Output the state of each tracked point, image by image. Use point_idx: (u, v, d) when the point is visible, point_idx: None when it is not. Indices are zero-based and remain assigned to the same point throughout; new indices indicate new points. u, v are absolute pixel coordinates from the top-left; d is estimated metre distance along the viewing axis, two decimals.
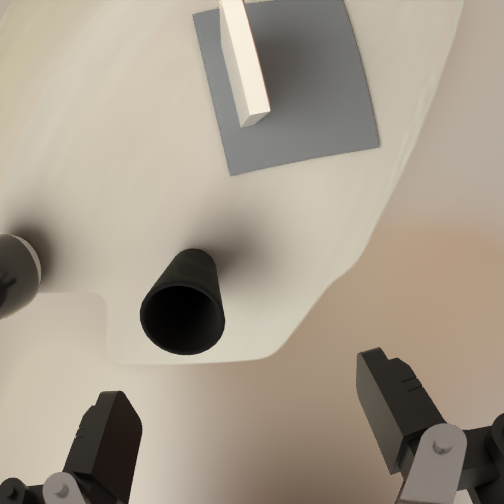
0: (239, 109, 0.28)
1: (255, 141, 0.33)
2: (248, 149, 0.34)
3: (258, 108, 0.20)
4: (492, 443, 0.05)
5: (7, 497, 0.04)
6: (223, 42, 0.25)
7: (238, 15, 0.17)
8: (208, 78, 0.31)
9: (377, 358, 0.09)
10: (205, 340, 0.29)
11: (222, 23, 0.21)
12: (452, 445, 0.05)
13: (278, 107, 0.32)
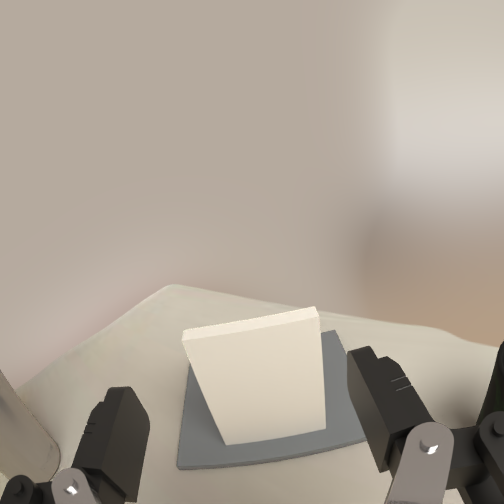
0: (307, 401, 0.25)
1: (340, 415, 0.28)
2: (350, 420, 0.27)
3: (312, 312, 0.23)
4: (481, 443, 0.05)
5: (14, 494, 0.05)
6: (228, 413, 0.25)
7: (215, 328, 0.23)
8: (263, 457, 0.25)
9: (366, 356, 0.09)
10: None
11: (211, 379, 0.24)
12: (439, 444, 0.05)
13: None
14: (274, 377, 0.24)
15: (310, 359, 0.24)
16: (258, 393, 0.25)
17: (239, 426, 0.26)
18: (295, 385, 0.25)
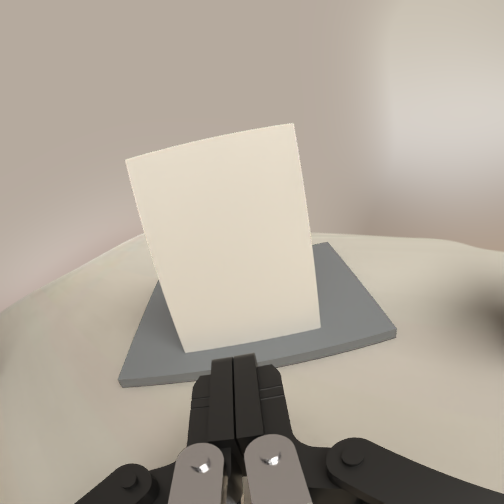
0: (291, 269, 0.20)
1: (339, 313, 0.23)
2: (353, 317, 0.22)
3: None
4: (336, 479, 0.05)
5: (122, 486, 0.05)
6: (183, 288, 0.20)
7: None
8: None
9: (246, 362, 0.10)
10: None
11: (160, 222, 0.19)
12: (276, 457, 0.06)
13: None
14: (242, 219, 0.19)
15: (288, 190, 0.19)
16: (222, 249, 0.20)
17: (200, 314, 0.21)
18: (272, 236, 0.20)
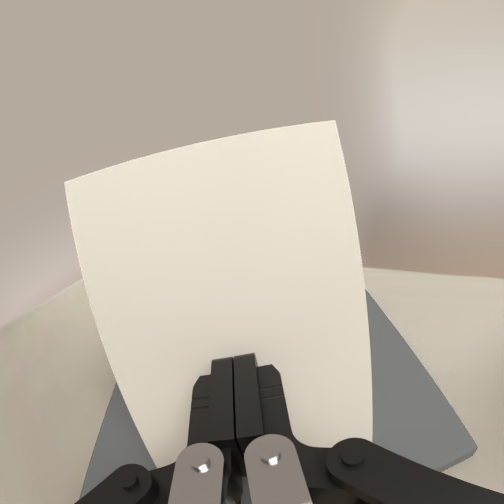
0: (334, 370, 0.11)
1: (397, 423, 0.13)
2: (417, 431, 0.12)
3: None
4: (336, 479, 0.05)
5: (122, 487, 0.05)
6: (154, 395, 0.11)
7: None
8: None
9: (246, 362, 0.10)
10: None
11: (113, 287, 0.11)
12: (276, 457, 0.06)
13: None
14: (251, 287, 0.11)
15: (331, 236, 0.11)
16: (216, 338, 0.11)
17: (183, 435, 0.12)
18: (303, 317, 0.11)
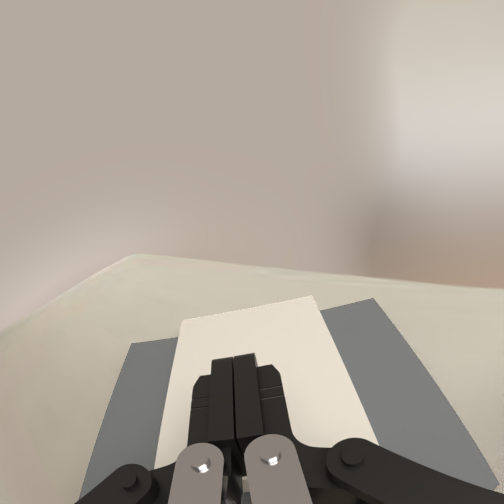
0: (321, 382, 0.15)
1: (415, 460, 0.11)
2: (437, 468, 0.10)
3: None
4: (336, 479, 0.05)
5: (122, 487, 0.05)
6: (189, 402, 0.16)
7: None
8: None
9: (246, 363, 0.10)
10: None
11: (191, 351, 0.20)
12: (276, 458, 0.06)
13: None
14: (267, 347, 0.19)
15: (311, 327, 0.20)
16: None
17: None
18: (296, 357, 0.18)
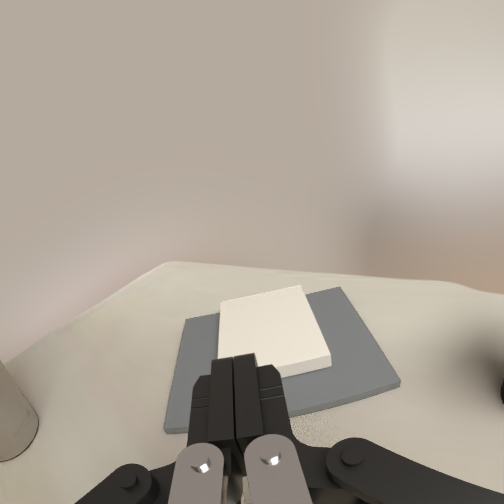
0: (302, 327, 0.31)
1: (352, 365, 0.26)
2: (364, 369, 0.25)
3: None
4: (336, 479, 0.05)
5: (121, 487, 0.05)
6: (232, 340, 0.31)
7: None
8: None
9: (246, 363, 0.10)
10: None
11: (230, 317, 0.35)
12: (276, 458, 0.06)
13: None
14: (273, 312, 0.34)
15: (298, 301, 0.35)
16: (261, 323, 0.33)
17: (238, 353, 0.29)
18: (290, 316, 0.33)
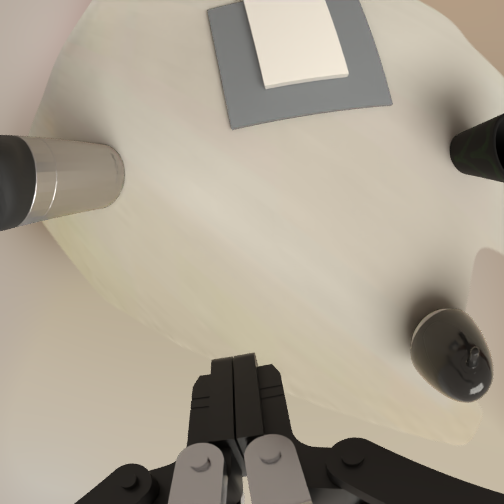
0: (326, 38, 0.31)
1: (361, 79, 0.33)
2: (369, 86, 0.33)
3: None
4: (336, 479, 0.05)
5: (122, 487, 0.05)
6: (267, 45, 0.32)
7: None
8: (302, 113, 0.35)
9: (246, 362, 0.10)
10: None
11: (257, 17, 0.31)
12: (276, 457, 0.06)
13: None
14: (298, 16, 0.30)
15: (319, 6, 0.30)
16: (288, 27, 0.31)
17: (276, 60, 0.32)
18: (313, 23, 0.30)
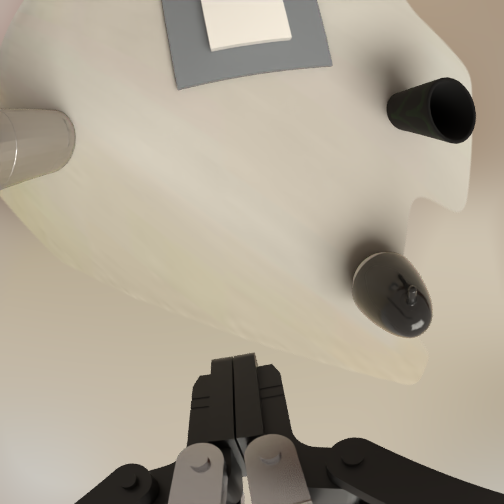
0: (272, 5, 0.30)
1: (304, 43, 0.34)
2: (311, 48, 0.34)
3: None
4: (336, 479, 0.05)
5: (122, 487, 0.05)
6: (215, 11, 0.30)
7: None
8: (245, 74, 0.35)
9: (246, 362, 0.10)
10: (465, 100, 0.28)
11: None
12: (276, 457, 0.06)
13: None
14: None
15: None
16: None
17: (222, 25, 0.31)
18: None
